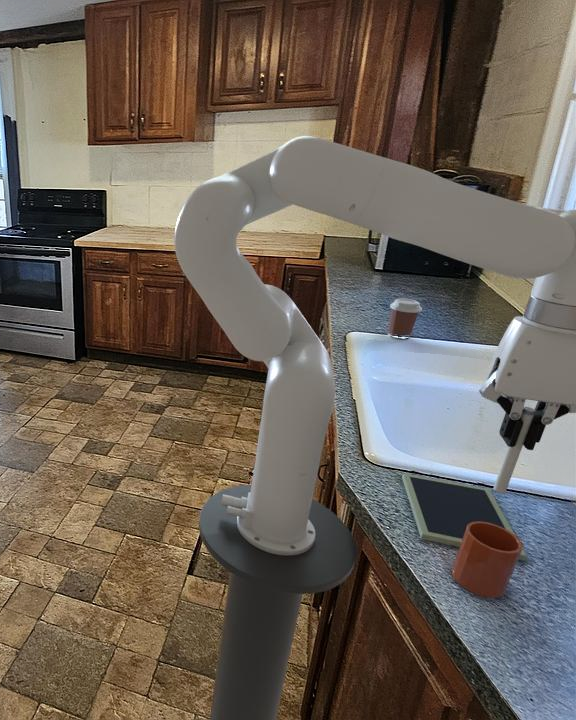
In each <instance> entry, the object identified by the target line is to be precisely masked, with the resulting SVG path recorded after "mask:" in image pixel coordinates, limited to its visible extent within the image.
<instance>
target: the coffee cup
mask: <svg viewBox="0 0 576 720" xmlns="http://www.w3.org/2000/svg"><path fill="white" fill-rule="evenodd" d="M389 308H390V309H391V312H390V318H389V326H388V333H387V336H388V337H390V336H396V335H392V334H390V333H393V334H397V335H410V336H408V337H411V335H412V333H413V329H414V327H415V324H416V321H417V319H418V315H419V313H421V312H422V310H423V307H422V306H421V305H420V301H417V300H415V299H411V298H396V299H395V300H394V301H393V302H391V303H390V304H389ZM389 332H390V333H389ZM398 337H402V336H398Z"/></svg>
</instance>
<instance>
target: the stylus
mask: <svg viewBox="0 0 576 720" xmlns="http://www.w3.org/2000/svg"><path fill="white" fill-rule="evenodd" d="M535 412H536V411H535V408H532V407H530V406H524V407H523V411H522V414H521V415H522V417H521V420H522V421H523V426H522V429H521V432H520V434H519V437H518V440H517V443H516V445H515V446H514V447H509V446H507V449H506V452H505V455H504V457H503V461H502V464H501V466H500V469H499V471H498V474H497V477H496V480H495V483H494V486H493V489H492V490H493V491H494V492H496V493H498V494H505V493H506V492H507V490H508V487H509V484H510V482H511V480H512V476H513V474H514V470H515V468H516V466H517V463H518V460H519V457H520V455H521V452H522V449H523V447H524V445H523V444H524V441H525V438H526V436H527V433H528V430H529V428H530V425H531V422H532V420H533V417H534V414H535Z"/></svg>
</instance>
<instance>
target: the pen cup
mask: <svg viewBox="0 0 576 720" xmlns="http://www.w3.org/2000/svg"><path fill="white" fill-rule="evenodd" d="M514 534H515V533H514ZM514 534H513V533H511V532H509V531H508V530H506V529H504V528H502V527H500V526H497V525H495V524H491V523H488V522H480V521H477V522H471V523H469V524H468V525H467V527H466V530H465V533H464V536H463V539H462V541H461V544H460V547H458V549H457V553H456V556H455V559H454V562H453V565H452V568H451V574H452V578H453V579H454V580H455V581H456V582H457V584H458V585H460V586H461V587H462V588H464V589H466V590H467V591H468V592H470V593H472V594H475V595H477V596H481V597H484V598H488V599H497V598H500V597H502V596H504V594H505V592H506V590H507V588H508V586H509V583H510V581H511V578H512V576H513V574H514V572H515V571H514V570H515V569H516V566H517V564H518V561H519V560H518V559H519V556H520V554H521V551H522V548H524V547H523V546H524V545H523V543H522V541H521V540H520V539H519V538H518V537H517V536H516V534H515V535H514Z"/></svg>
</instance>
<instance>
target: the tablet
mask: <svg viewBox="0 0 576 720" xmlns="http://www.w3.org/2000/svg"><path fill="white" fill-rule="evenodd" d="M401 480H402V483H403V486H404V489H405V492H406V495H407V497H408V502H409V505H410V508H411V511H412V514H413V517H414V521H415V523H416V527H417V530H418V534H419V537H420V539H421V540H424V541H429V542H433V543H439V544H443V545H447V546H452V547H457V548H459V547H460V544H461V541H462V539H463V536H464V533H465V530H466V527H467V525H468V524H469V523H471V522H477V521H480V522H488V523H491V524H495V525H497V526H500V527H502V528H504V529H506V530H508V531H509V532H511V533H513V534H514V535H515V536H516V534H515V533H514V531H513V528H512V526H511V525H510V523H509V521H508V520H507V518H506V517H505V515H504V513H503V511H502V509H501V507H500V505H499V504H498V501H497V500H496V498H495V497H494V495H493V493H492V491H491V489H490V488H487V487H482V486H477V485H471V484H466V483H461V482H454V481H450V480H449V481H448V480H443V479H437V478H432V477H426V476H423V475H422V476H421V475H416V474H410V473H405V472H403V473H402V474H401ZM527 557H528V556H527V554H526V552H525V550H524V547H522V551H521V554H520V556H519V559H518V561H521V562H525V561H526V559H527Z"/></svg>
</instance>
